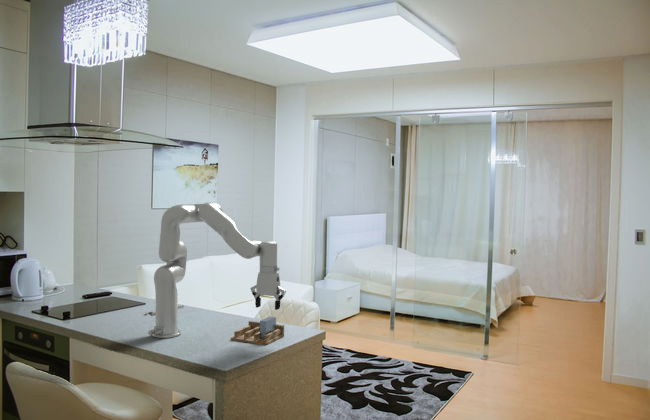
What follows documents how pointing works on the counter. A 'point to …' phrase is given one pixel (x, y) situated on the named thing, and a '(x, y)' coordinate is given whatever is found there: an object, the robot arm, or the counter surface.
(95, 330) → the counter surface
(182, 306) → the adjustable wrench
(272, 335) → the rack
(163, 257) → the robot arm
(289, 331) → the counter surface
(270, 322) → the block
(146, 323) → the counter surface
